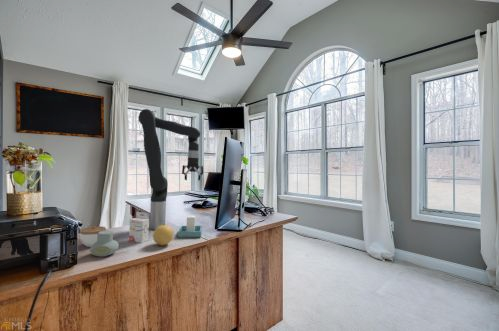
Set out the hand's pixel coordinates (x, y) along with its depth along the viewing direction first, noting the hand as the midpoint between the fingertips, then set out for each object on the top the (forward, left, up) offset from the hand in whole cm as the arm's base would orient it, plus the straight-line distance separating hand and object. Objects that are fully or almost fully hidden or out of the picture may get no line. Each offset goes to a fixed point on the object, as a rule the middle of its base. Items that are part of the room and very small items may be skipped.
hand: (192, 180), depth 162 cm
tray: (+2, -25, -30) cm, 39 cm away
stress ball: (-10, -42, -30) cm, 53 cm away
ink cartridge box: (-24, -35, -30) cm, 52 cm away
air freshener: (-33, -53, -30) cm, 69 cm away
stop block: (+2, -25, -30) cm, 39 cm away
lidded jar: (-44, -40, -30) cm, 67 cm away
